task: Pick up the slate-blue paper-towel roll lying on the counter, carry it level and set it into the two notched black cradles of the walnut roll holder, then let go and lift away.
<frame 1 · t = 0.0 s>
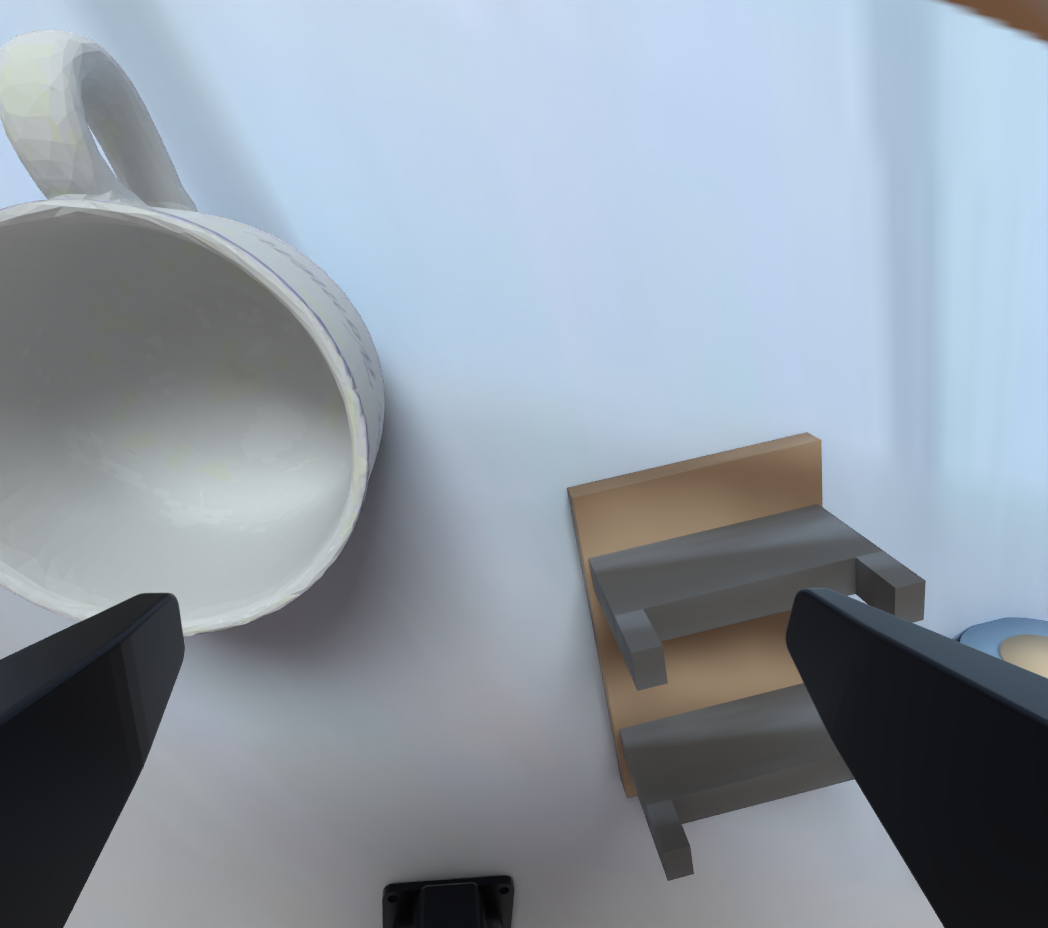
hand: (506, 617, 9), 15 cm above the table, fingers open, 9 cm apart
teacup: (235, 329, 21), on the table
roll: (1028, 761, 29), point 3 cm above the table
holder: (705, 623, 28), on the table
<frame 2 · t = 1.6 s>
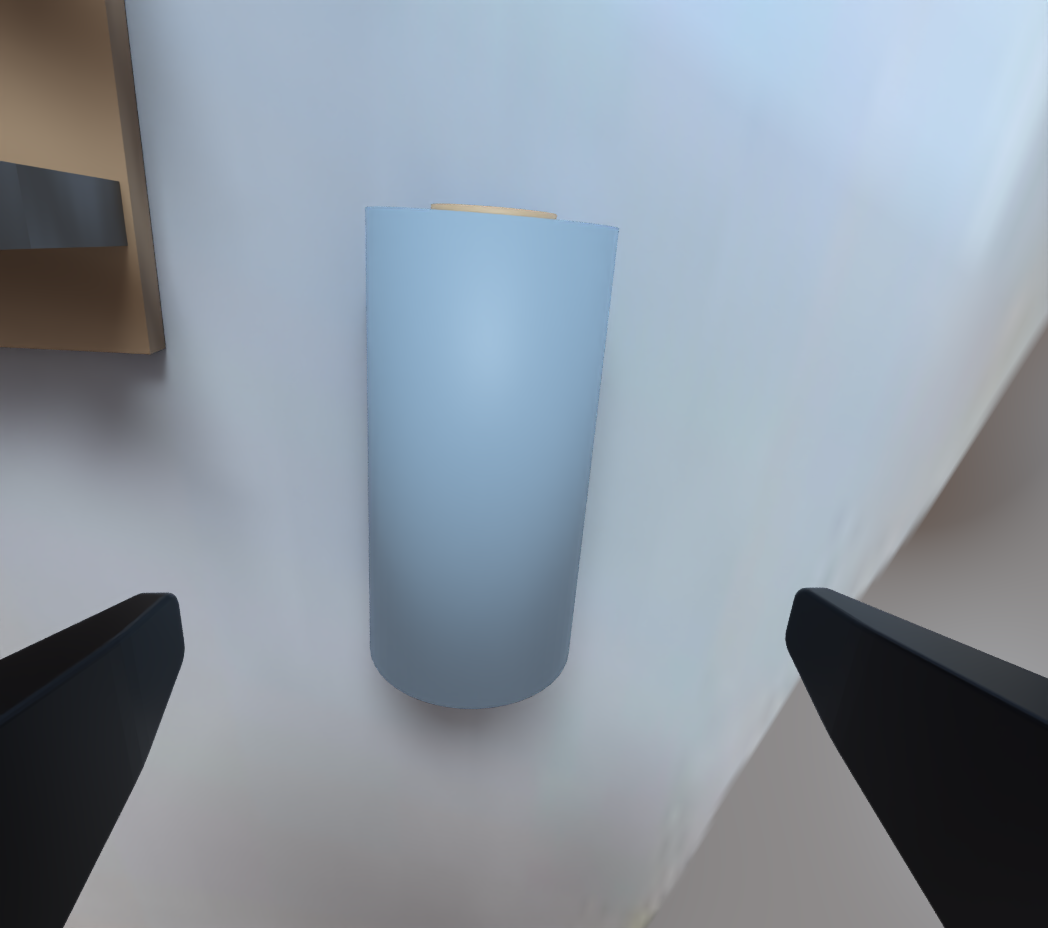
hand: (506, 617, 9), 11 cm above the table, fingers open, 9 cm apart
roll: (481, 454, 17), point 3 cm above the table
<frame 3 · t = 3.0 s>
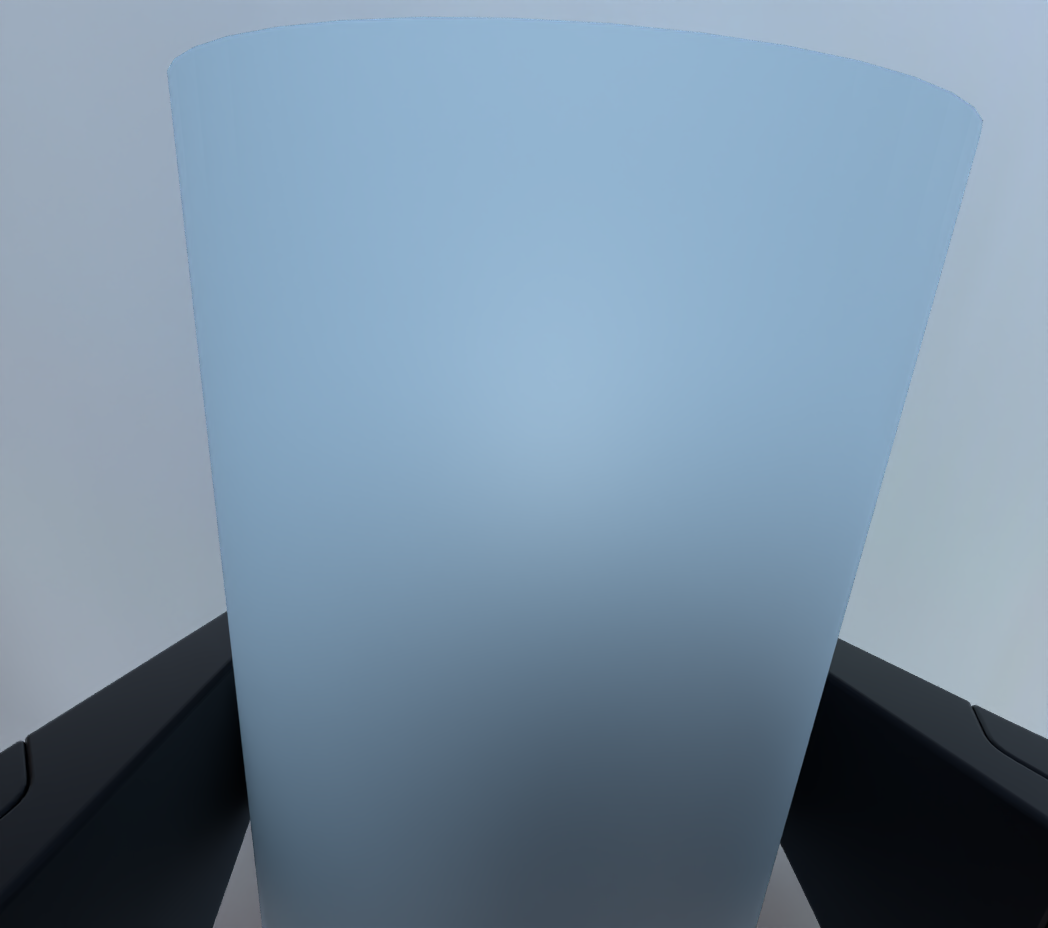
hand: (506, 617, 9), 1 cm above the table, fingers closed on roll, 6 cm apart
roll: (520, 700, 7), point 3 cm above the table, touching gripper
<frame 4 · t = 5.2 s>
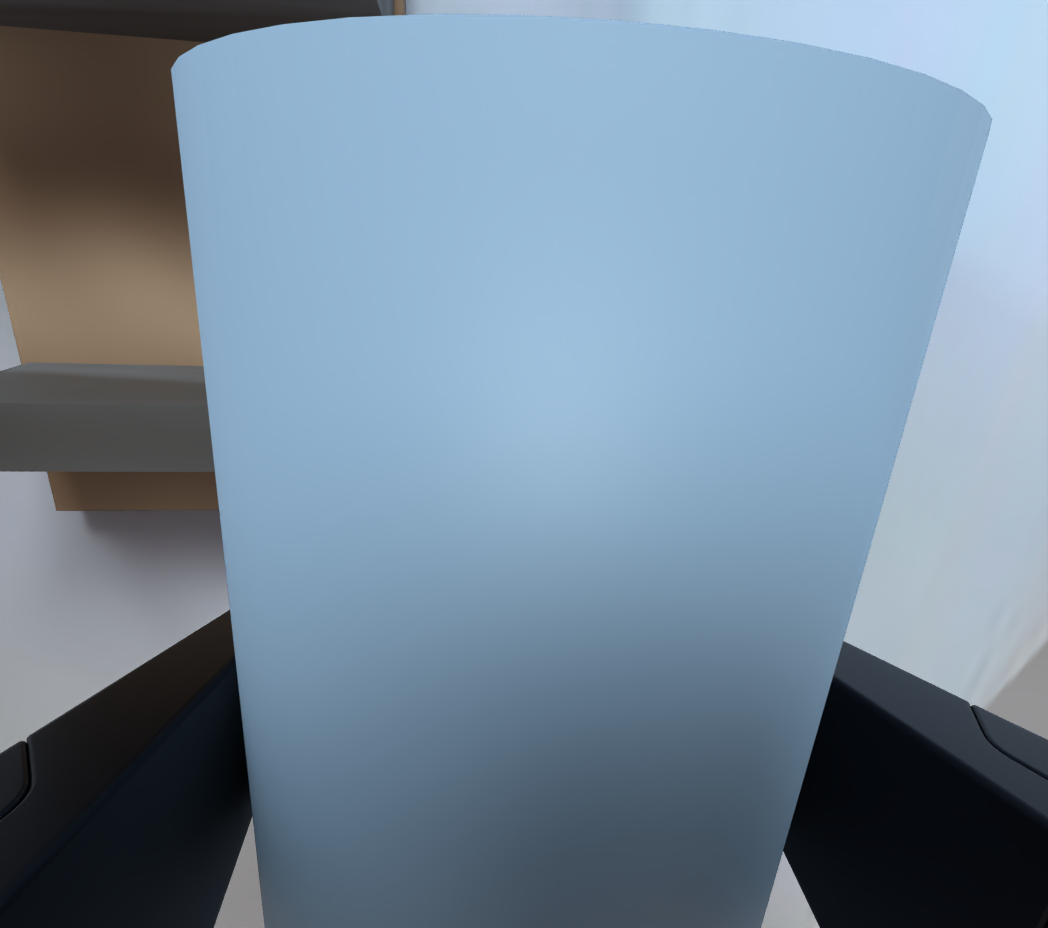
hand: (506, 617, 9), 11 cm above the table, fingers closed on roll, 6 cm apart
roll: (523, 701, 7), point 12 cm above the table, touching gripper
holder: (217, 217, 16), on the table
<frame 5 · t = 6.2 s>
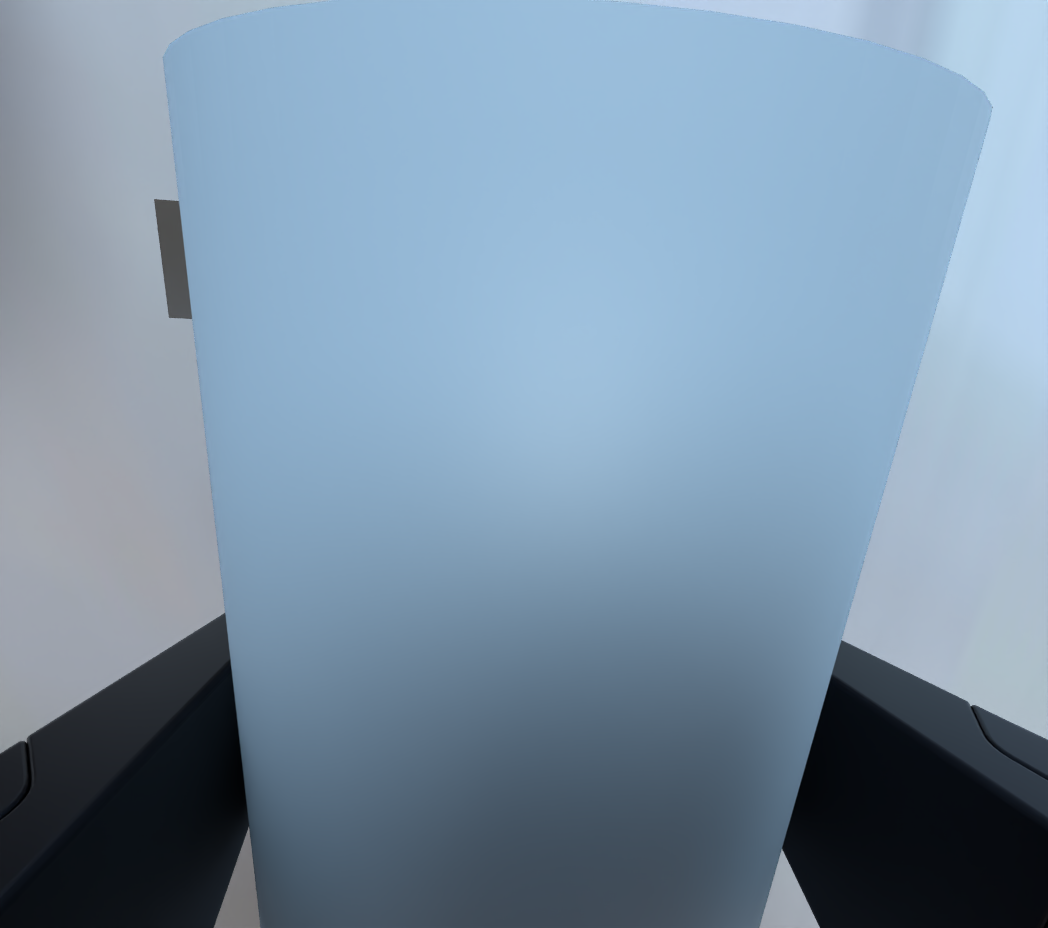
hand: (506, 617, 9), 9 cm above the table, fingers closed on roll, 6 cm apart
roll: (520, 699, 7), point 10 cm above the table, touching gripper
holder: (479, 434, 17), on the table
when the fingers open (7 cm above the table, at t = 7.2 s): roll drops 1 cm, resting on holder.
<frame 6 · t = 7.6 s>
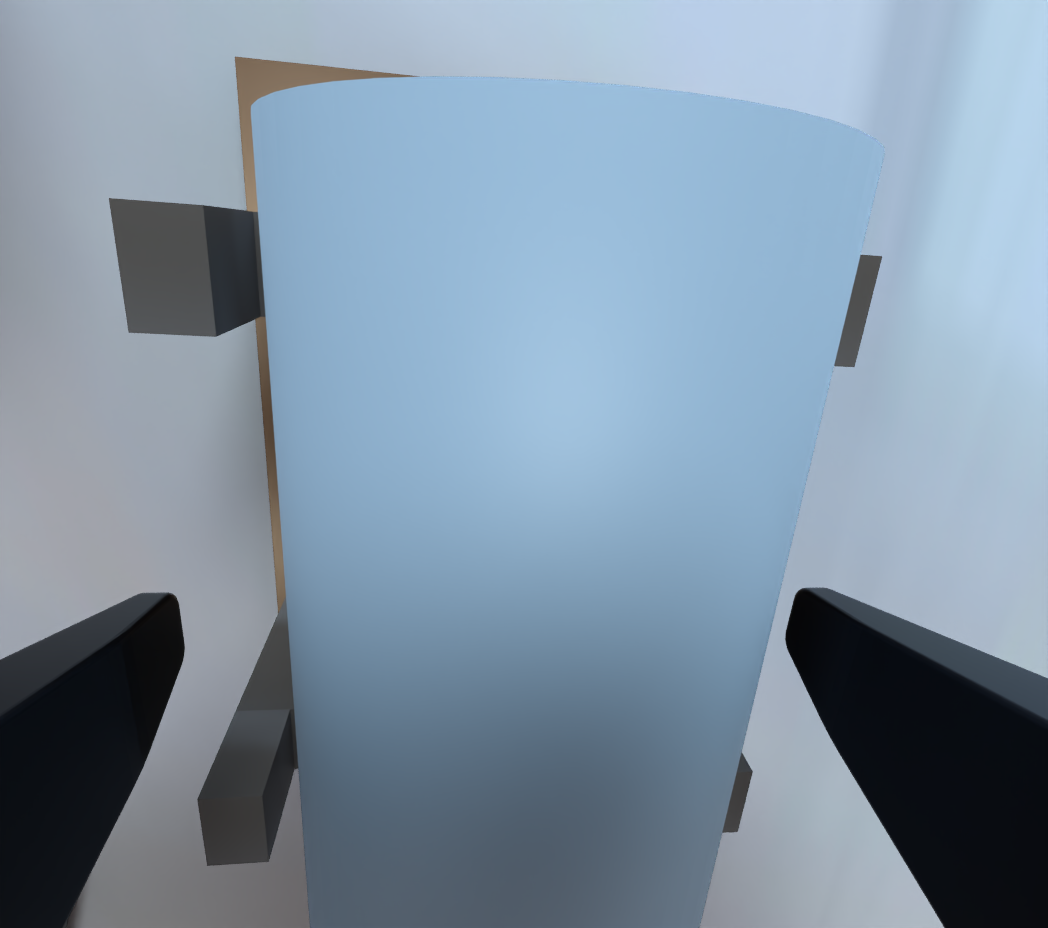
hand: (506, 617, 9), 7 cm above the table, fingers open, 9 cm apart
roll: (523, 635, 8), point 8 cm above the table, touching holder
holder: (479, 449, 16), on the table
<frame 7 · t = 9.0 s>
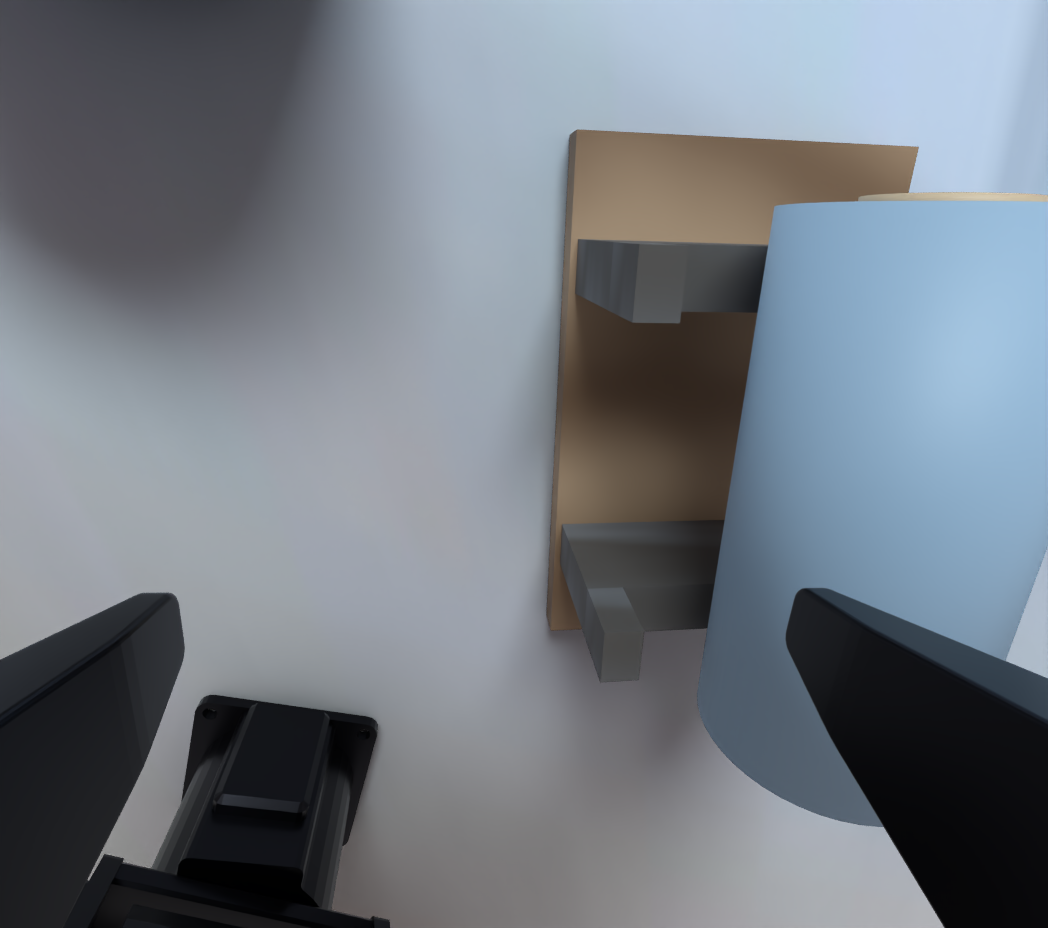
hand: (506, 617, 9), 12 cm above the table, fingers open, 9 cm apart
roll: (872, 504, 14), point 8 cm above the table, tilted 14°, touching holder
holder: (702, 407, 21), on the table
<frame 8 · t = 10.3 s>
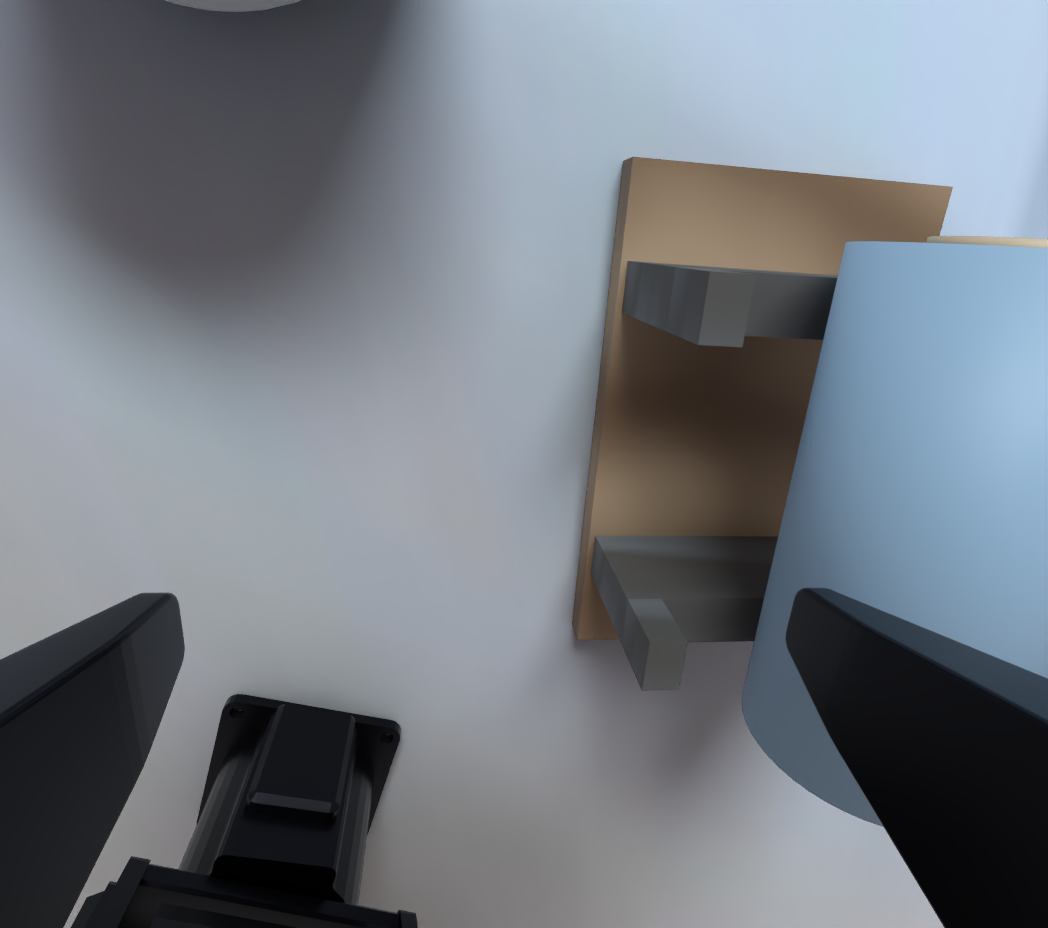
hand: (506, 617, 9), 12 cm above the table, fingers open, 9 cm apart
roll: (925, 526, 14), point 8 cm above the table, tilted 19°, touching holder
holder: (733, 426, 22), on the table
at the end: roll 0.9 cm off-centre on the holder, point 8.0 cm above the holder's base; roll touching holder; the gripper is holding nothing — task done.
